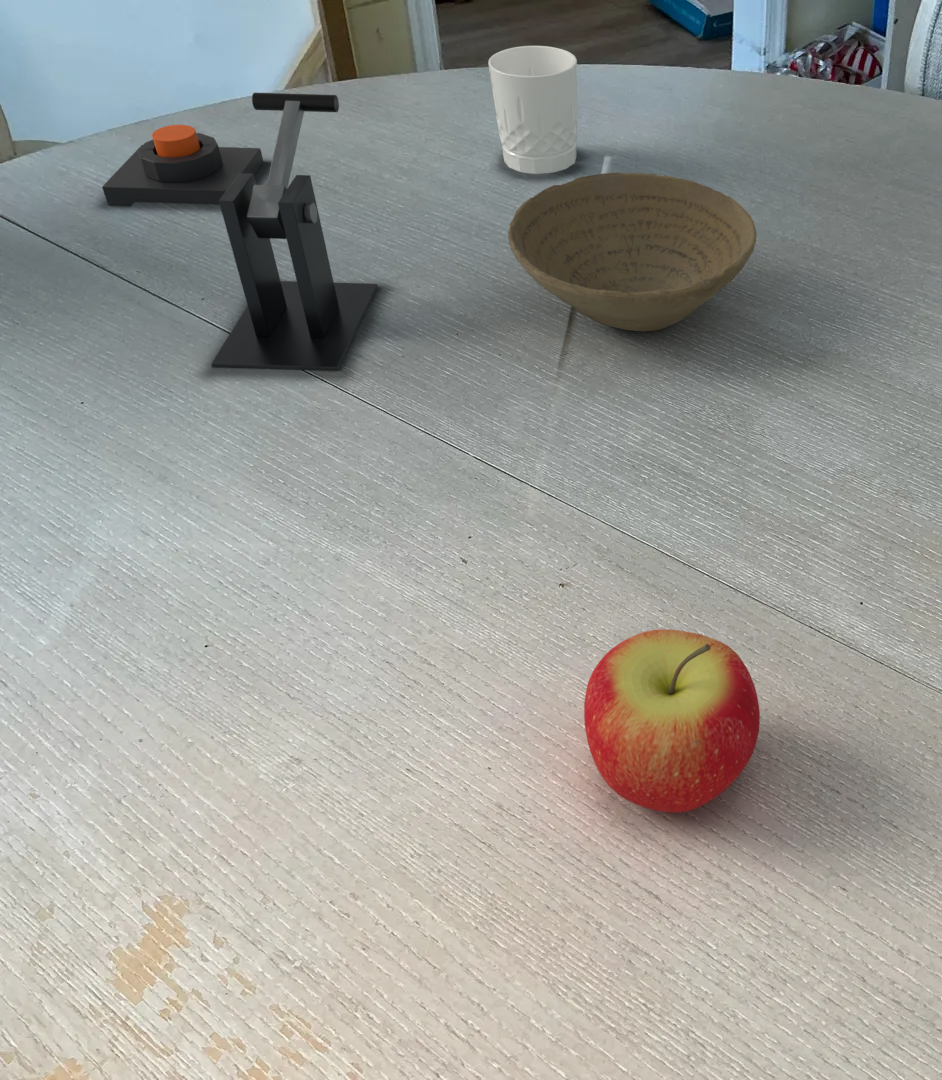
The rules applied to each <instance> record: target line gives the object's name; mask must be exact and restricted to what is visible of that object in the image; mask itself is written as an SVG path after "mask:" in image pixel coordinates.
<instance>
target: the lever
mask: <svg viewBox="0 0 942 1080" xmlns="http://www.w3.org/2000/svg"><path fill="white" fill-rule="evenodd" d="M251 102H252V103H251V104H252V106H253V109H254V110H256V111H273V112H274V111H276V112H277V111H278V112H282V115H281V119H280V125H279V129H278V133H277V137H276V141H275V146H274V150H273V154H272V159H271V163H270V167H269V173H268V177H267V181H266V184H256V185H254V186H253V190H252V194H251V199H250V203H249V207H248V212H247V218H248V220H249V222H250V224H251V226H252V228H253V229H254V231H255V233H256V235H257V237H258V238H270V240H271V239H274V240H287V238H286V234H285V230H284V226H283V222H282V218H281V214H280V209H279V205H278V202H279V200H280V199H281V197H282V196H283V194H284V193H285V191H286V190H287V188H288V187H289V182H290V178H291V174H292V169H293V164H294V160H295V155H296V150H297V145H298V141H299V136H300V132H301V128H302V124H303V119H304V114H305V112H311V113H312V112H313V113H338V112H339V110H340V102H339V98H338V96H337V95H336V94H318V93H317V94H316V93H315V94H314V93H287V92H286V93H282V92H253V93H252V97H251Z"/></svg>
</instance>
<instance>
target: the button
mask: <svg viewBox="0 0 942 1080" xmlns="http://www.w3.org/2000/svg"><path fill="white" fill-rule="evenodd" d="M196 133H197V131H196V129H195V128H194V127H193V126H191V125H186V124H172V125H166V126H163V127H159V128H157V129H156V130H154V131H153V132H152V133H151V137H152V140H153V141H154V144H155V148H156V151H157V154H158V156H161V157H181V156H187V155H191V154H193V153H195V152H198V151H199V150H200V145H199V141H198V138H197V134H196Z"/></svg>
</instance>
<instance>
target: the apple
mask: <svg viewBox="0 0 942 1080" xmlns="http://www.w3.org/2000/svg"><path fill="white" fill-rule="evenodd" d="M584 695H585V696H584V705H583V706H584V707H583V711H584V713H583V719H584V728H585V735H586V741H587V744H588V749H589V751H590V754H591V757H592V759H593V762H594V764H595V766H596V769H597V770H598V773H599V774H600V776H601V777H602V779H603V780H604V781H605V783H606V784H607V785H608V787H610V789H611V790H613V792H615V793H616V794H617V795H619V796H620V797H621V798H623V799H625V800H627V801H628V802H630V803H632V804H634V805H636V806H639V807H641V808H644V809H649V810H653V811H657V812H664V813H685V812H689V811H693V810H696V809H698V808H700V807H702V806H704V805H706V804H707V803H709V802H711V801H713V800H714V799H715V798H717V797H718V796H719V795H721V794H722V793H723V792H724V791H726V790H727V789H728V788H729V787H730V786H731V785H732V784H733V783H734V781H736V780H737V778H738V777H739V776H740V775H741V774H742V772H743V771H744V770H745V768H746V767H747V765H748V763H749V761H750V760H751V758H752V756H753V753H754V751H755V749H756V747H757V743H758V738H759V733H760V719H761V714H760V705H759V698H758V693H757V689H756V686H755V684H754V681H753V678H752V675H751V673H750V671H749V669H748V667H747V666H746V664H745V663H744V661H743V660H742V658H741V657H740V656H739V654H738V653H737V652H736V651H735V650H734V649H733V648H732V647H730V646H729V645H728V644H726V643H724V642H723V641H720V640H718V639H715V638H713V637H709V636H707V635H703V634H700V633H696V632H690V631H685V630H677V629H652V630H647V631H643V632H640V633H637V634H635V635H633V636H631V637H628V638H627V639H625V640H623V641H621V642H620V643H618V644H616V645H615V646H614V647H612V648H611V649H610V650H609V651H608V652H607V653H606V654H605V655H603V656H602V658H600V660H599V661H598V663H597V664H596V666H595V668H593V670H592V672H591V675H590V677H589V680H588V682H587V685H586V689H585V694H584Z"/></svg>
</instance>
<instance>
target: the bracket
mask: <svg viewBox="0 0 942 1080" xmlns="http://www.w3.org/2000/svg"><path fill="white" fill-rule="evenodd" d="M254 185H257V182H256V179H255V174H248V173H240V174H239V175H238V176H237V178H236V179H235V180H234V181H233V183H232V184H231V185H230V187H229V188H228V189H227V191H226V192H225V193H224V195H223V196H222V197H221V199H220V200H219V204H218V205H219V208H220V211H221V214H222V218H223V221H224V225H225V229H226V232H227V236H228V240H229V243H230V246H231V251H232V254H233V259H234V262H235V265H236V269H237V271H238V276H239V279H240V283H241V287H242V291H243V295H244V297H245V302H246V304H247V306H246V307H245V309H244V311H243V313H242V314H241V316H240V317H239V318H238V321H237V322H236V323H235V325H234V326H233V329H232V330H231V332H230V333H229V334H228V336H227V338H226V340H225V341H224V343H223V345H222V346H221V347H220V349H219V351H218V352H217V353H216V355H215V357H214V359H212V362H211V368H213V369H215V368H216V369H219V368H220V369H249V370H251V369H253V370H282V371H283V370H285V371H286V370H287V371H315V372H317V371H318V372H319V371H321V372H339V370H340V368H341V366H342V364H343V363H344V360H345V358H346V356H347V353H348V352H349V349H350V347H351V345H352V343H353V342H354V339H355V337H356V335H357V333H358V330H359V328H360V326H361V323H362V322H363V320H364V317H365V315H366V314H367V312H368V310H369V307H370V305H371V303H372V301H373V298H374V297H375V295H376V292H377V290H378V288H379V285H378V284H377V283H364V282H363V283H362V282H359V283H358V282H334V277H333V274H332V273H333V272H332V268H331V264H330V259H329V254H328V251H327V246H326V245H327V244H326V241H325V237H324V232H323V227H322V222H321V218H320V213H319V209H318V204H317V200H316V196H315V191H314V186H313V182H312V177H311V175H309V174H296V175H295V177H294V178H293V179H292V181H291V182H290V184H288V188H287V190H286V191H285V193H284V194H283V196H282V197H281V199H280V200H279V202H278V205H279V209H280V214H281V218H282V222H283V226H284V230H285V234H286V238H287V239H286V242H287V247H288V250H289V255H290V260H291V263H292V267H293V271H294V276H295V280H296V281H294V280H293V281H292V280H290V281H289V280H281V278H280V274H279V270H278V265H277V262H276V257H275V254H274V250H273V245H272V241H271V238H258V237H257V235H256V233H255V231H254V229H253V228H252V226H251V224H250V222H249V220H248V218H247V212H248V207H249V203H250V199H251V194H252V190H253V186H254Z"/></svg>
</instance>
